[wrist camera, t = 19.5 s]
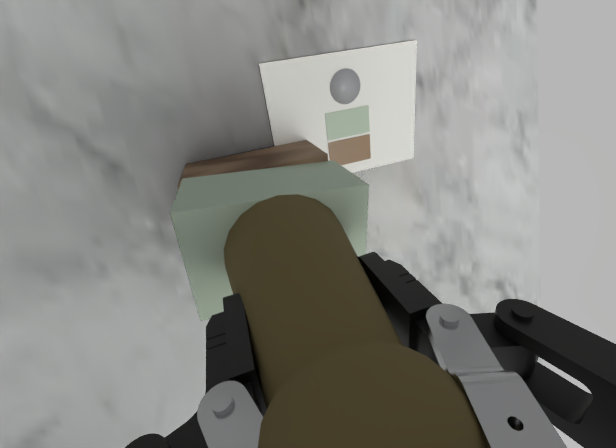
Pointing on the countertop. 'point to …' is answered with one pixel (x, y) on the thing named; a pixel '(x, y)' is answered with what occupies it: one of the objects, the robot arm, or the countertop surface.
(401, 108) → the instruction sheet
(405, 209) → the countertop surface
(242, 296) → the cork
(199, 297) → the sage brick
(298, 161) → the base brick
